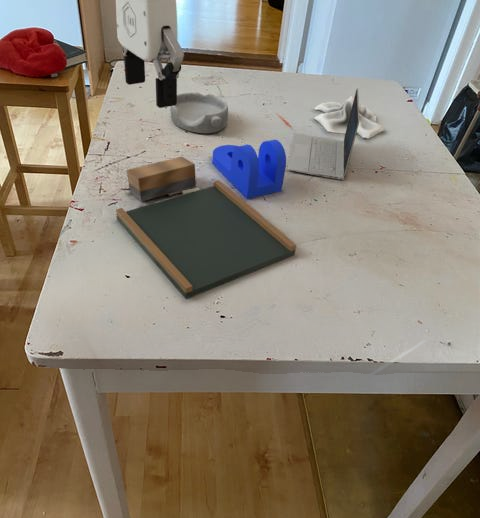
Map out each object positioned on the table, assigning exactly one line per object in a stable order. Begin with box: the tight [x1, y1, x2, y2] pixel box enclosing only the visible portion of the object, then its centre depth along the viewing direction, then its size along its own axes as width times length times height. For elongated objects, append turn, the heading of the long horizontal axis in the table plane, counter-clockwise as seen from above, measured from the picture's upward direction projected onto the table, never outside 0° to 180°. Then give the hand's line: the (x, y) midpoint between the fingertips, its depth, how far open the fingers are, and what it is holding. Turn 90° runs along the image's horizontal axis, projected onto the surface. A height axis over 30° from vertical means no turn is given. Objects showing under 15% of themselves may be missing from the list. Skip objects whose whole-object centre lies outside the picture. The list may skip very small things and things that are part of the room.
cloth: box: [313, 95, 386, 140], centre depth 122 cm, size 22×19×6 cm
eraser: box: [126, 156, 197, 203], centre depth 91 cm, size 12×5×4 cm, turn 125°
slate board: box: [115, 179, 297, 300], centre depth 83 cm, size 22×24×2 cm
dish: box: [169, 91, 229, 134], centre depth 114 cm, size 14×14×5 cm
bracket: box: [211, 139, 287, 200], centre depth 97 cm, size 18×8×9 cm, turn 30°
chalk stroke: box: [167, 187, 192, 196], centre depth 93 cm, size 5×1×1 cm, turn 124°
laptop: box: [286, 87, 360, 181], centre depth 103 cm, size 18×12×13 cm
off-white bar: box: [181, 187, 201, 195], centre depth 93 cm, size 4×1×1 cm, turn 119°
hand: (150, 94), depth 73 cm, fingers open, 9 cm apart
